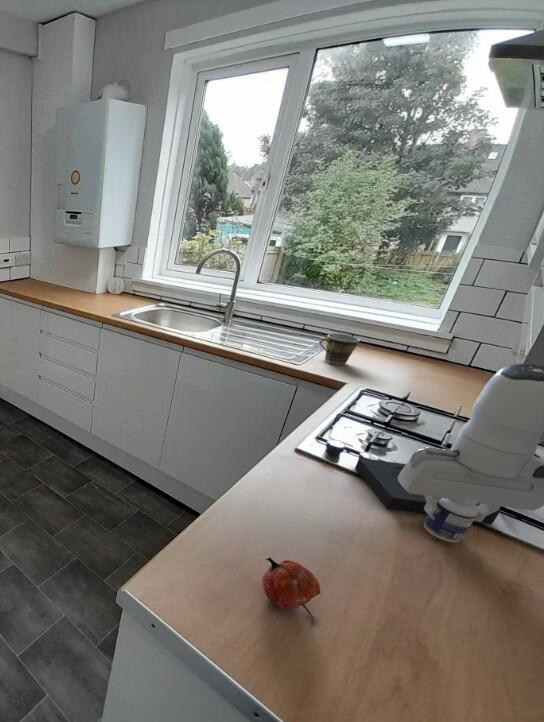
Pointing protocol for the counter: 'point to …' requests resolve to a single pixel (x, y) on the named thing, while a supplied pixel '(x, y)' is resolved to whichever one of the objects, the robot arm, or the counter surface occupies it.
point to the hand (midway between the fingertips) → (451, 515)
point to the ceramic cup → (339, 348)
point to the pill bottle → (452, 519)
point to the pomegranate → (289, 584)
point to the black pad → (396, 487)
